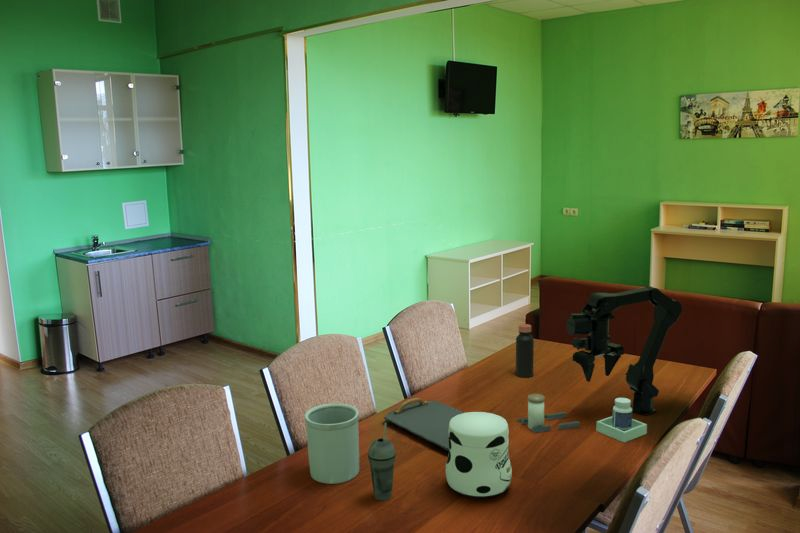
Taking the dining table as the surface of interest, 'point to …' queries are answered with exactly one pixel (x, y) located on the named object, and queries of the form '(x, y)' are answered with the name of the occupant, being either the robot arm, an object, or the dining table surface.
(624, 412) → the pill bottle
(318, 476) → the utensil holder
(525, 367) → the black water bottle
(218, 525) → the dining table surface
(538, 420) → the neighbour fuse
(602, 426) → the tray
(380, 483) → the beverage cup
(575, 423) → the set of grey bars
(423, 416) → the serving board
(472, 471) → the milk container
